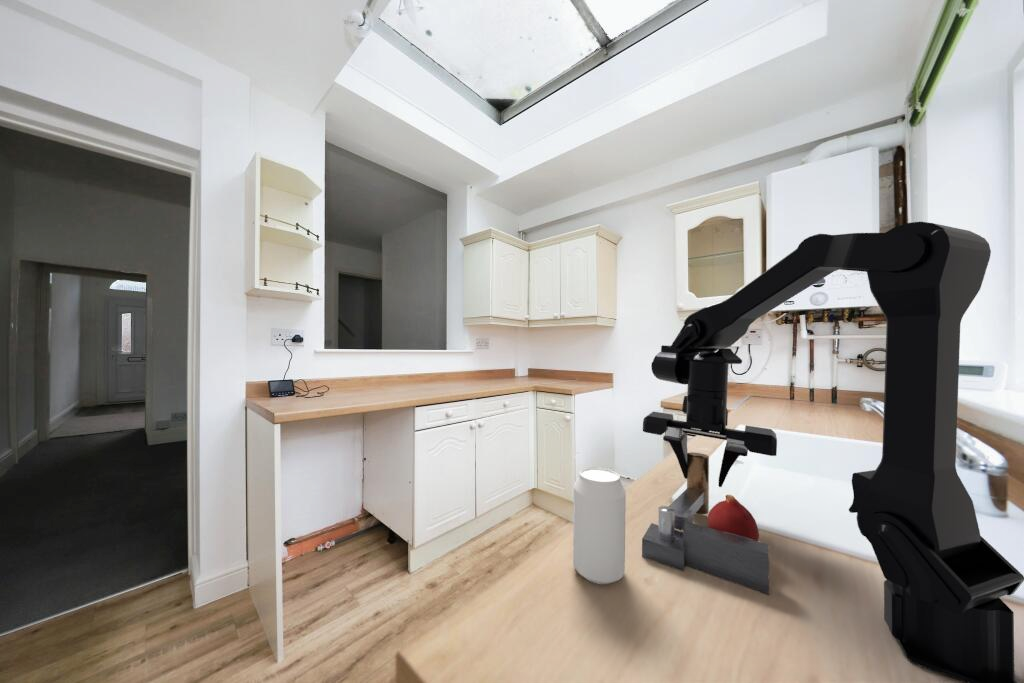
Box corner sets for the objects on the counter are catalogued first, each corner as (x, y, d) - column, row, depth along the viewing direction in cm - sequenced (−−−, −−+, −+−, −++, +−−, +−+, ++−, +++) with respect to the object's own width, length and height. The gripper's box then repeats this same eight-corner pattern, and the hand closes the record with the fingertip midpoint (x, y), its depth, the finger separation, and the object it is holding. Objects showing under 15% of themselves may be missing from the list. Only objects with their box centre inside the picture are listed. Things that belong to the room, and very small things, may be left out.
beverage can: (575, 553, 46) (576, 463, 46) (623, 561, 44) (624, 468, 44) (570, 583, 40) (571, 480, 40) (626, 594, 38) (627, 486, 38)
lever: (685, 545, 46) (686, 478, 46) (660, 535, 49) (660, 472, 49) (712, 510, 57) (712, 455, 57) (690, 503, 59) (690, 451, 59)
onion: (742, 544, 49) (742, 487, 49) (769, 570, 43) (769, 506, 43) (700, 541, 49) (700, 485, 49) (720, 566, 43) (720, 503, 44)
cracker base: (767, 577, 41) (768, 527, 42) (769, 602, 37) (769, 546, 38) (651, 539, 49) (651, 498, 49) (642, 556, 45) (642, 511, 45)
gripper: (775, 389, 58) (771, 481, 58) (658, 378, 68) (655, 455, 69) (779, 399, 49) (774, 507, 49) (643, 384, 59) (640, 473, 60)
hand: (703, 481), depth 57 cm, fingers open, 5 cm apart
